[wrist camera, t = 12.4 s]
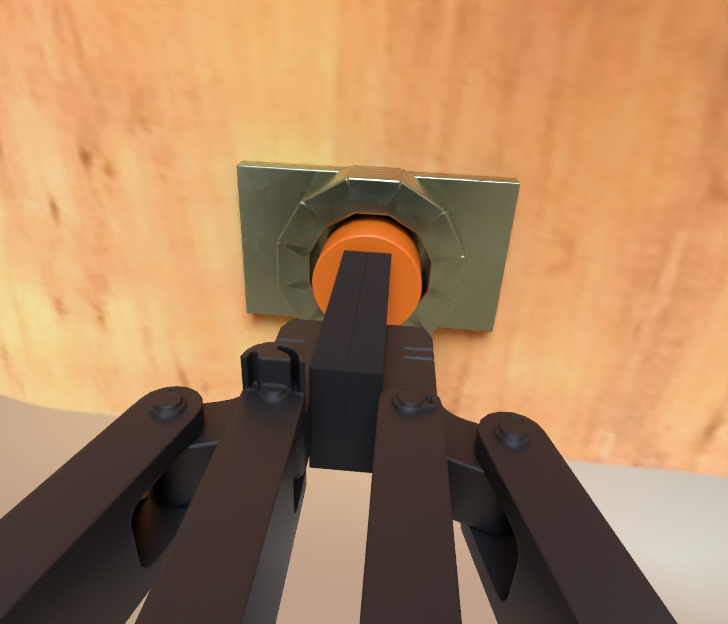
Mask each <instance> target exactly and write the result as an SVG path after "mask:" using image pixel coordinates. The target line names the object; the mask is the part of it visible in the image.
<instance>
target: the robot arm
mask: <svg viewBox="0 0 728 624" xmlns="http://www.w3.org/2000/svg"><path fill="white" fill-rule="evenodd" d="M391 257H392V254H391V253H377V252H362V251H348V250H344V252H343V255H342V259H341V262H340V266H339V269H338V272H337V276H336V279H335V282H334V286H333V289H332V292H331V296H330V299H329V302H328V306H327V309H326V312H325V316H324V319H323V321H317V320H304V319H292V320H290V321H289V322H288V323H286V324H285V325H284V326H282V327H281V329H280V331H279V333H278V336H277V338H276V340H275V342H266V343H262V344H258V345H255V346H253V347H251V348H249V349H247V350H246V351H245V352H244V353H243V354H242V355H241V369H242V381H243V391H242V393H241V395H240V396H239V397H236V398H234V399H230V400H225V401H219V402H212V403H204V404H203V400H202V397H201V396H200V394H199V393H198V392H197V391H195V390H193V389H190V388H188V387H179V386H174V387H166V388H161V389H158V390H155V391H152V392H150V393H149V394H147V395H145V396H144V397H142V398H141V399H139V400H138V401H137V402H136V403H135V404H134V405H132V406H131V407H130V408H129V409H128V410H127V411H125V412H124V413H123V414H122V415H121V416H120V417H119V418H117V419H116V420H115V421H114V422H113V423H112V424H110V425H109V426H108V427H107V428H106V429H105V430H103V431H102V432H101V433H100V434H99V435H98V436H96V438H94V439H93V440H92V441H91V442H89V443H88V444H87V445H86V446H85V447H84V448H83V449H81V450H80V451H79V452H78V453H77V454H76V455H74V456H73V457H72V458H71V459H70V460H69V461H67V462H66V463H65V464H64V465H63V466H62V467H60V468H59V469H58V470H57V471H56V472H55V473H53V474H52V475H51V476H50V477H49V478H48V479H47V480H45V481H44V482H43V483H42V484H41V485H39V486H38V487H37V488H36V489H35V490H34V491H33V492H31V493H30V494H29V495H28V496H27V497H26V498H24V499H23V500H22V501H21V502H20V503H19V504H17V505H16V506H15V507H14V508H13V509H12V510H11V511H9V512H8V513H7V514H6V515H5V516H3V517H2V518H1V519H0V624H125V623H126V621H127V620H128V619H129V617H130V616H131V615H132V613H133V612H134V610H135V609H136V608H137V606H138V605H139V604H140V602H141V601H142V600H143V598H144V597H145V596H146V594H147V593H148V591H149V590H150V592H149V594H148V596H147V598H146V600H145V602H144V605H143V607H142V609H141V611H140V613H139V615H138V618H137V620H136V622H135V624H276V619H277V614H278V610H279V605H280V601H281V597H282V592H283V588H284V583H285V578H286V574H287V570H288V565H289V561H290V556H291V551H292V547H293V542H294V538H295V534H296V529H297V525H298V520H299V516H300V511H301V507H302V502H303V498H304V493H305V488H306V467H307V463H308V458H309V462H310V463H309V466H310V468H322V469H333V470H344V471H356V472H367V473H372V483H371V496H370V508H369V519H368V531H367V542H366V554H365V566H364V578H363V590H362V601H361V613H360V624H462V620H461V609H460V598H459V586H458V575H457V565H456V553H455V542H454V531H453V520H455V521H458V522H460V523H461V530H462V533H463V535H464V538H465V540H466V543H467V546H468V548H469V551H470V553H471V556H472V558H473V561H474V564H475V566H476V569H477V571H478V574H479V576H480V579H481V582H482V584H483V587H484V589H485V592H486V594H487V597H488V600H489V602H490V605H491V607H492V609H493V612H494V615H495V618H496V620H497V623H498V624H677V622H676V621H675V619H674V618H673V616H672V615H671V614H670V612H669V611H668V609H667V608H666V606H665V605H664V604H663V602H662V600H661V599H660V598H659V596H658V595H657V593H656V592H655V590H654V589H653V587H652V586H651V585H650V583H649V582H648V580H647V579H646V577H645V576H644V574H643V573H642V572H641V570H640V569H639V567H638V566H637V564H636V563H635V561H634V560H633V559H632V557H631V556H630V554H629V553H628V551H627V550H626V548H625V547H624V545H623V544H622V543H621V541H620V540H619V538H618V537H617V535H616V534H615V532H614V531H613V530H612V528H611V527H610V525H609V524H608V522H607V521H606V520H605V518H604V517H603V515H602V514H601V512H600V511H599V509H598V508H597V506H596V505H595V504H594V502H593V501H592V499H591V498H590V496H589V495H588V493H587V492H586V491H585V489H584V488H583V486H582V485H581V483H580V482H579V480H578V479H577V478H576V476H575V475H574V473H573V472H572V470H571V469H570V467H569V466H568V464H567V463H566V462H565V460H564V459H563V457H562V456H561V454H560V453H559V451H558V450H557V449H556V447H555V446H554V444H553V443H552V441H551V440H550V438H549V437H548V436H547V434H546V433H545V431H544V430H543V429H542V428H541V427H540V426H539V425H538V424H537V423H536V422H534V421H532V420H531V419H529V418H527V417H525V416H522V415H519V414H516V413H512V412H496V413H491V414H488V415H487V416H485V417H484V418H482V419H481V421H480V423H479V424H477V423H474V422H471V421H467V420H464V419H462V418H459V417H457V416H455V415H453V414H452V413H450V412H448V411H447V410H446V409H445V408H444V407H443V406H442V403H441V401H440V398H439V397H438V396H437V390H436V378H435V365H434V353H433V341H432V337H431V336H430V334H429V333H428V332H427V331H426V330H425V328H424V327H413V326H400V325H387V311H388V297H389V284H390V270H391Z"/></svg>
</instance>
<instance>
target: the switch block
mask: <svg viewBox="0 0 728 624" xmlns="http://www.w3.org/2000/svg"><path fill="white" fill-rule="evenodd" d="M237 176H238V191H239V205H240V220H241V234H242V249H243V264H244V278H245V293H246V307H247V313H254V314H267V315H280V316H293V317H297V319H304V320H317V321H323V319H324V316H325V314H324V313H323V312H322V310H321V309H320V308H319V306H318V304H317V302H316V299H315V297H314V293H313V287H312V278H313V272H314V268H315V266H316V263H317V261H318V258H319V256H320V253H321V251H322V248H323V246H324V243H325V242H326V240H327V238H328V236H329V235H330V234H331V232H332V231H333V230H334V229H335V228H337V227H338V226H339V225H341V224H342V223H344V222H346V221H348V220H350V219H353V218H356V217H361V216H378V217H383V218H387V219H389V220H391V221H394V222H395V223H397V224H399V225H400V226H402V227H403V228H404V229H405V230H406V231H407V232H408V233H409V234H410V235H411V236H412V238H413V239H414V241H415V243H416V245H417V247H418V250H419V254H420V261H421V278H422V291H421V297H420V300H419V303H418V305H417V307H416V309H415V310H414V312H413V313H412V315H411V316H410V317H409V318H408V319H407V320H406V321H405V322H403V323H402V324H401V325H400V326H413V327H424V328H425V330H426V331H427V332H428V333H429V334H430V335H431V334H432V333H433V332H434V331H435V330H436V328H450V329H463V330H476V331H489V332H492V331H493V326H494V320H495V315H496V310H497V304H498V299H499V294H500V288H501V283H502V278H503V272H504V267H505V262H506V256H507V251H508V246H509V240H510V235H511V230H512V224H513V219H514V214H515V208H516V203H517V198H518V192H519V187H520V183H519V181H518V180H517V179H516V178H503V177H487V176H471V175H455V174H440V173H424V172H408V171H405V170H401V169H400V168H385V167H369V166H353V167H348V168H345V167H329V166H314V165H298V164H282V163H266V162H250V161H242V162H240V163H239V164H238V165H237Z"/></svg>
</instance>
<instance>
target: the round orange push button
mask: <svg viewBox="0 0 728 624" xmlns="http://www.w3.org/2000/svg"><path fill="white" fill-rule="evenodd" d="M344 250H348V251H362V252H377V253H391V254H392V257H391V270H390V284H389V297H388V311H387V325H401V324H402V323H403V322H405V321H406V320H407V319H408V318H409V317H410V316H411V315H412V313H413V312H414V310H415V309H416V307H417V305H418V303H419V300H420V297H421V291H422V278H421V261H420V254H419V250H418V247H417V245H416V243H415V241H414V239H413V238H412V236H411V235H410V234H409V233H408V232H407V231H406V230H405V229H404V228H403V227H402V226H400V225H399V224H397V223H395V222H394V221H391V220H389V219H387V218H383V217H378V216H361V217H356V218H353V219H350V220H348V221H346V222H344V223H342V224H341V225H339V226H338V227H337V228H335V229H334V230H333V231H332V232H331V234H330V235H329V236H328V238H327V240H326V242H325V243H324V246H323V248H322V251H321V253H320V256H319V258H318V261H317V263H316V266H315V268H314V272H313V278H312V287H313V293H314V297H315V299H316V302H317V304H318V306H319V308H320V309H321V310H322V312H323V313H324V314H325V312H326V309H327V306H328V302H329V299H330V296H331V292H332V289H333V286H334V282H335V279H336V276H337V272H338V269H339V266H340V262H341V259H342V255H343V252H344Z"/></svg>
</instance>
